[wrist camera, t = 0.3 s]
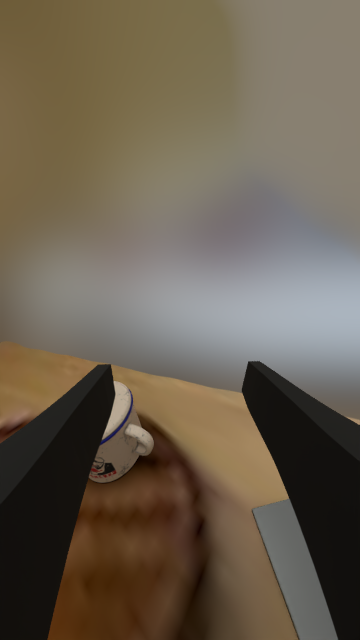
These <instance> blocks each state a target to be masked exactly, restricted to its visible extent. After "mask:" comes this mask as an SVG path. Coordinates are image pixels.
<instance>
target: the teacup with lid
mask: <svg viewBox="0 0 360 640" xmlns="http://www.w3.org/2000/svg"><path fill="white" fill-rule="evenodd" d="M114 387H115V393H116V395H115V400H114V404H113V408H112V412H111V416H110V419H109V421H108V424H107V427H106V430H105V433H104V435H103V438H102V441H101V444H100V446H99V449H98V452H97V455H96V457H95V460H94V463H93V465H92V468H91V471H90V474H89V478H90V479H91V480H93V481H95V482H99V483H105V482H110V481H113V480H115V479H118V478H119V477H121V476H122V475H124V474H125V473H126V472H127V471H128V470H129V469H130V468H131V467H132V466H133V465H134V463H135V462H136V460H137V459H138V457H139V455H148V454H150V452H151V451H152V448H153V446H154V441H153V438H152V437H151V435H150V434H149V433H148V432H147V431H146V430H144V429H143V428H142V427H141V424H140V421H139V419H138V416H137V413H136V410H135V407H134V405H133V397H132V393H131V391H130V390H129V389H128V388H127V387H126V386H125V385H124V384H122V383H120V382H117V381H114Z"/></svg>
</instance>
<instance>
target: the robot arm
mask: <svg viewBox="0 0 360 640" xmlns="http://www.w3.org/2000/svg"><path fill="white" fill-rule="evenodd" d="M242 393H243V396H244V399H245V401H246V404H247V407H248V409H249V412H250V414H251V416H252V418H253V420H254V422H255V424H256V426H257V428H258V430H259V432H260V434H261V436H262V438H263V440H264V442H265V444H266V446H267V448H268V450H269V452H270V454H271V456H272V458H273V460H274V462H275V464H276V467H277V469H278V471H279V474H280V476H281V479H282V481H283V484H284V486H285V489H286V491H287V494H288V496H289V499H290V502H291V504H292V507H293V509H294V512H295V515H296V517H297V520H298V523H299V525H300V528H301V531H302V534H303V536H304V539H305V542H306V545H307V548H308V550H309V553H310V556H311V559H312V562H313V564H314V567H315V570H316V573H317V576H318V579H319V582H320V585H321V588H322V591H323V594H324V597H325V600H326V603H327V606H328V609H329V612H330V615H331V619H332V622H333V625H334V628H335V631H336V635H337V638H338V640H360V425H358V424H357V423H355V422H353V421H351V420H350V419H348V418H346V417H344V416H342V415H341V414H339V413H337V412H336V411H334V410H332V409H331V408H329V407H327V406H326V405H324V404H323V403H321V402H319V401H318V400H316V399H315V398H313V397H311V396H310V395H308V394H307V393H305V392H304V391H302V390H301V389H299V388H298V387H296V386H295V385H293V384H292V383H290V382H289V381H288V380H286V379H285V378H283V377H282V376H280V375H279V374H278V373H276V372H275V371H273V370H272V369H270V368H269V367H267V366H266V365H264V364H263V363H261V362H260V361H257V362H256V361H254V362H253V361H252V362H248V365H247V369H246V374H245V378H244V382H243V387H242ZM115 395H116V393H115V387H114V381H113V375H112V369H111V364H105V365H97V366H96V367H95V368H94V369H93V370H92V371H90V372H89V373H88V374H87V375H86V376H85V377H84V378H83V379H82V380H80V381H79V382H78V383H77V384H76V385H75V386H74V387H72V388H71V389H70V390H69V391H68V392H67V393H66V394H64V395H63V396H62V397H61V398H60V399H58V400H57V401H56V402H55V403H53V404H52V405H51V406H50V407H49V408H47V409H46V410H45V411H44V412H42V413H41V414H40V415H39V416H37V417H36V418H35V419H33V420H32V421H31V422H30V423H28V424H27V425H26V426H24V427H23V428H22V429H20V430H19V431H17V432H16V433H15V434H13V435H12V436H10V437H9V438H8V439H6V440H5V441H3V442H2V443H1V444H0V640H47V638H48V634H49V630H50V625H51V621H52V617H53V612H54V608H55V604H56V599H57V595H58V591H59V587H60V583H61V579H62V575H63V571H64V567H65V563H66V559H67V555H68V551H69V547H70V543H71V539H72V536H73V532H74V528H75V524H76V520H77V516H78V513H79V509H80V506H81V502H82V498H83V495H84V491H85V488H86V484H87V481H88V477H89V474H90V471H91V468H92V465H93V463H94V460H95V457H96V455H97V452H98V449H99V446H100V444H101V441H102V438H103V435H104V433H105V430H106V427H107V424H108V421H109V419H110V416H111V412H112V408H113V404H114V400H115Z"/></svg>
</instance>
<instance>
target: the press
mask: <svg viewBox="0 0 360 640" xmlns="http://www.w3.org/2000/svg"><path fill="white" fill-rule="evenodd" d="M252 513H253V515H254V518H255V521H256V523H257V526H258V529H259V532H260V534H261V537H262V540H263V543H264V545H265V548H266V551H267V554H268V556H269V559H270V562H271V564H272V567H273V570H274V573H275V575H276V578H277V581H278V584H279V586H280V589H281V592H282V595H283V597H284V600H285V603H286V605H287V608H288V611H289V614H290V616H291V619H292V622H293V625H294V627H295V630H296V633H297V636H298V638H299V640H338V638H337V635H336V631H335V628H334V625H333V622H332V619H331V615H330V612H329V609H328V606H327V603H326V600H325V597H324V594H323V591H322V588H321V585H320V582H319V579H318V576H317V573H316V570H315V567H314V564H313V562H312V559H311V556H310V553H309V550H308V548H307V545H306V542H305V539H304V536H303V534H302V531H301V528H300V525H299V523H298V520H297V517H296V515H295V512H294V509H293V507H292V504H291V502H290V499H287V500H283V501H280V502H276V503H272V504H269V505H265V506H261V507H258V508H254V509H252Z"/></svg>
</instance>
